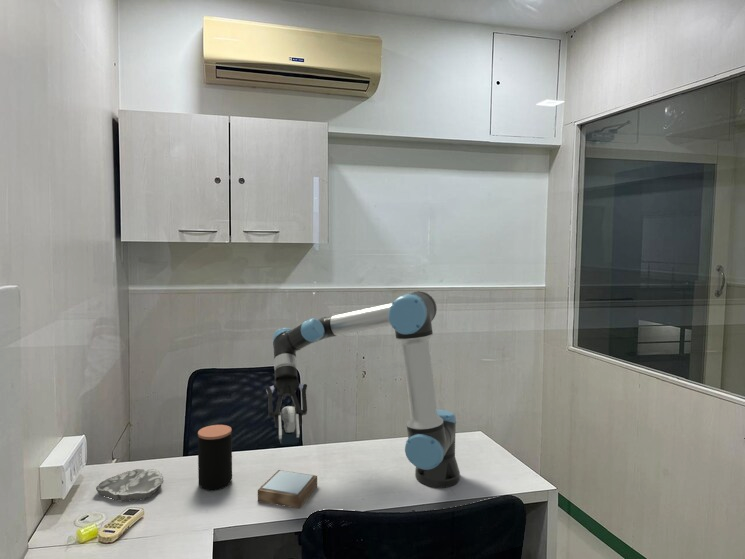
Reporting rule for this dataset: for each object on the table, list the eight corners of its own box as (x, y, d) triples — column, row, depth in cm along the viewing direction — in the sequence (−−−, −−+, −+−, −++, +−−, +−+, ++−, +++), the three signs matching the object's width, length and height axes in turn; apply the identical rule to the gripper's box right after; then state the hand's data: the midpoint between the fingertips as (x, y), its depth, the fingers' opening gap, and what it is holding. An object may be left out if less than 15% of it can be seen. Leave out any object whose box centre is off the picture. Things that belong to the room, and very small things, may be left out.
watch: (294, 435, 157) (296, 402, 156) (299, 445, 149) (301, 410, 149) (277, 437, 155) (278, 403, 154) (281, 447, 147) (283, 411, 147)
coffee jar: (238, 483, 159) (237, 430, 158) (208, 495, 152) (207, 439, 150) (221, 472, 167) (221, 422, 165) (192, 483, 159) (191, 430, 158)
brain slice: (175, 478, 163) (175, 470, 162) (148, 505, 146) (148, 496, 146) (119, 476, 164) (119, 468, 164) (86, 502, 147) (86, 493, 147)
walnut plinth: (317, 486, 158) (317, 474, 157) (299, 508, 144) (299, 495, 144) (278, 480, 162) (278, 468, 161) (257, 501, 148) (257, 488, 148)
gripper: (310, 374, 168) (316, 438, 153) (258, 377, 163) (259, 443, 149) (312, 363, 162) (319, 428, 147) (258, 365, 158) (259, 433, 143)
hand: (289, 436), depth 148 cm, fingers closed on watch, 5 cm apart
